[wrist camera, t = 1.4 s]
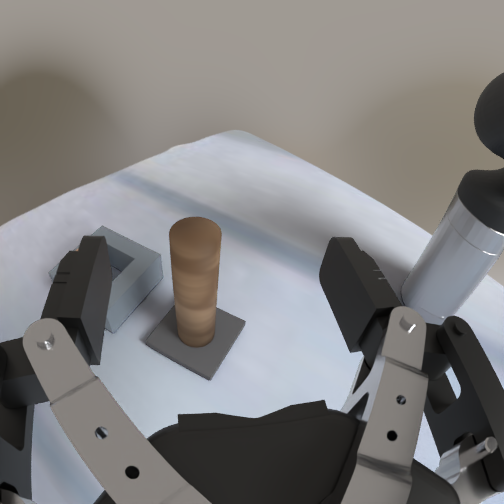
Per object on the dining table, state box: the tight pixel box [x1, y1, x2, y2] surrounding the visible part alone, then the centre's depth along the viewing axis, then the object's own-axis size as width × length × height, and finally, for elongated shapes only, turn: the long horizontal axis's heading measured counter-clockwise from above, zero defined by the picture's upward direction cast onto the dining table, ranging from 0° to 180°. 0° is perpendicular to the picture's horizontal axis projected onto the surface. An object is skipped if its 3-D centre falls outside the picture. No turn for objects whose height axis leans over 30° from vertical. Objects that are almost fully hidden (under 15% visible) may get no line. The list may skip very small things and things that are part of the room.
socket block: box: [49, 226, 163, 334], centre depth 36 cm, size 10×10×4 cm
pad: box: [145, 305, 246, 381], centre depth 34 cm, size 8×8×1 cm
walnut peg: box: [169, 217, 222, 348], centre depth 29 cm, size 4×4×14 cm
